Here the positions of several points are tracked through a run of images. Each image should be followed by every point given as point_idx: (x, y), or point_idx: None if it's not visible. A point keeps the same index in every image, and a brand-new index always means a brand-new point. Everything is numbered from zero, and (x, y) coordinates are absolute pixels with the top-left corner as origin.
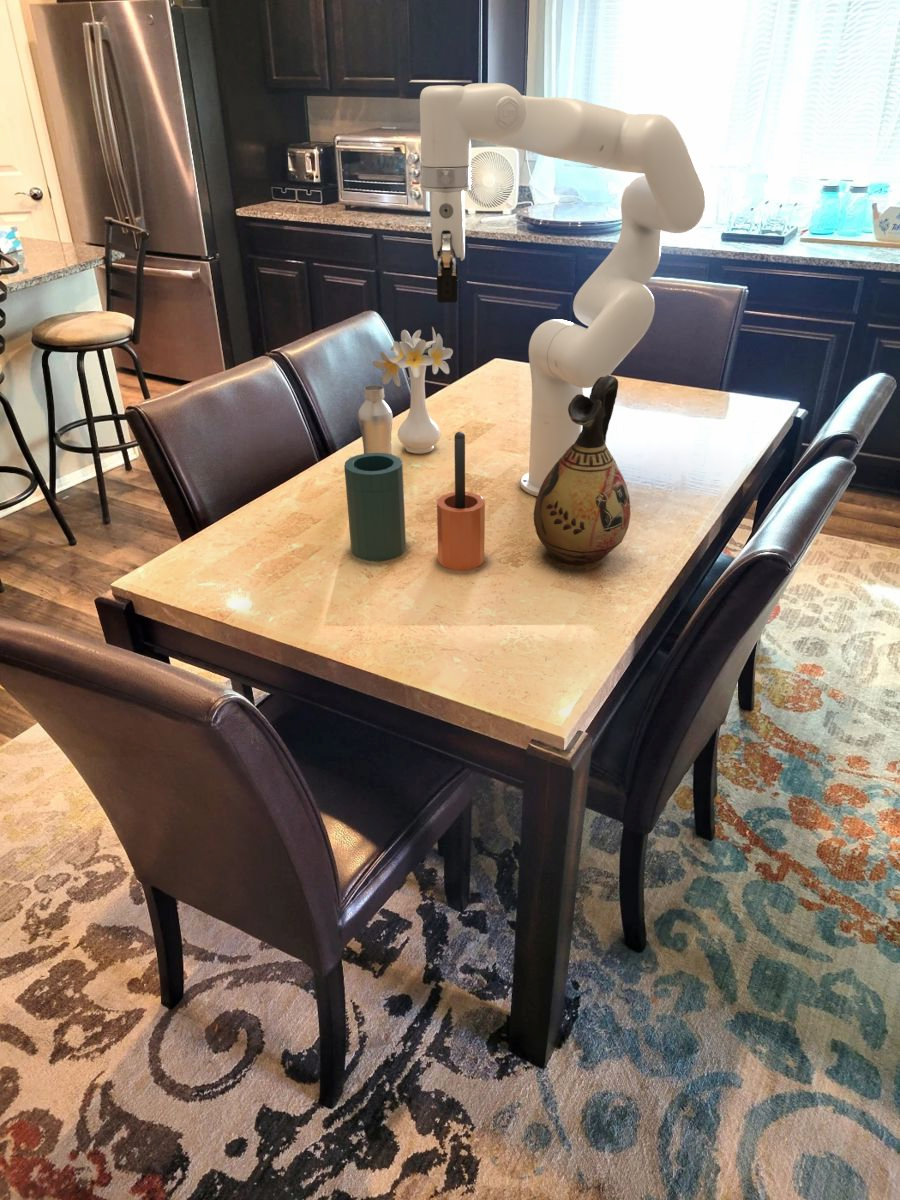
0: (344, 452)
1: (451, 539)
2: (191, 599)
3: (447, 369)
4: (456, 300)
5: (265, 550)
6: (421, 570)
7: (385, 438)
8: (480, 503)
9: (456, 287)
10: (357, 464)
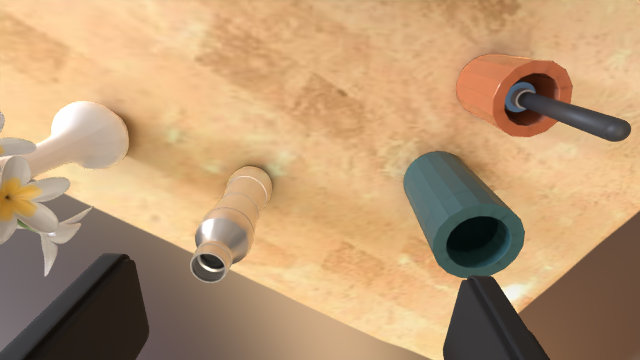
0: (138, 227)
1: None
2: None
3: None
4: (490, 281)
5: (409, 284)
6: (493, 134)
7: (250, 207)
8: (550, 68)
9: (530, 344)
10: (454, 259)
